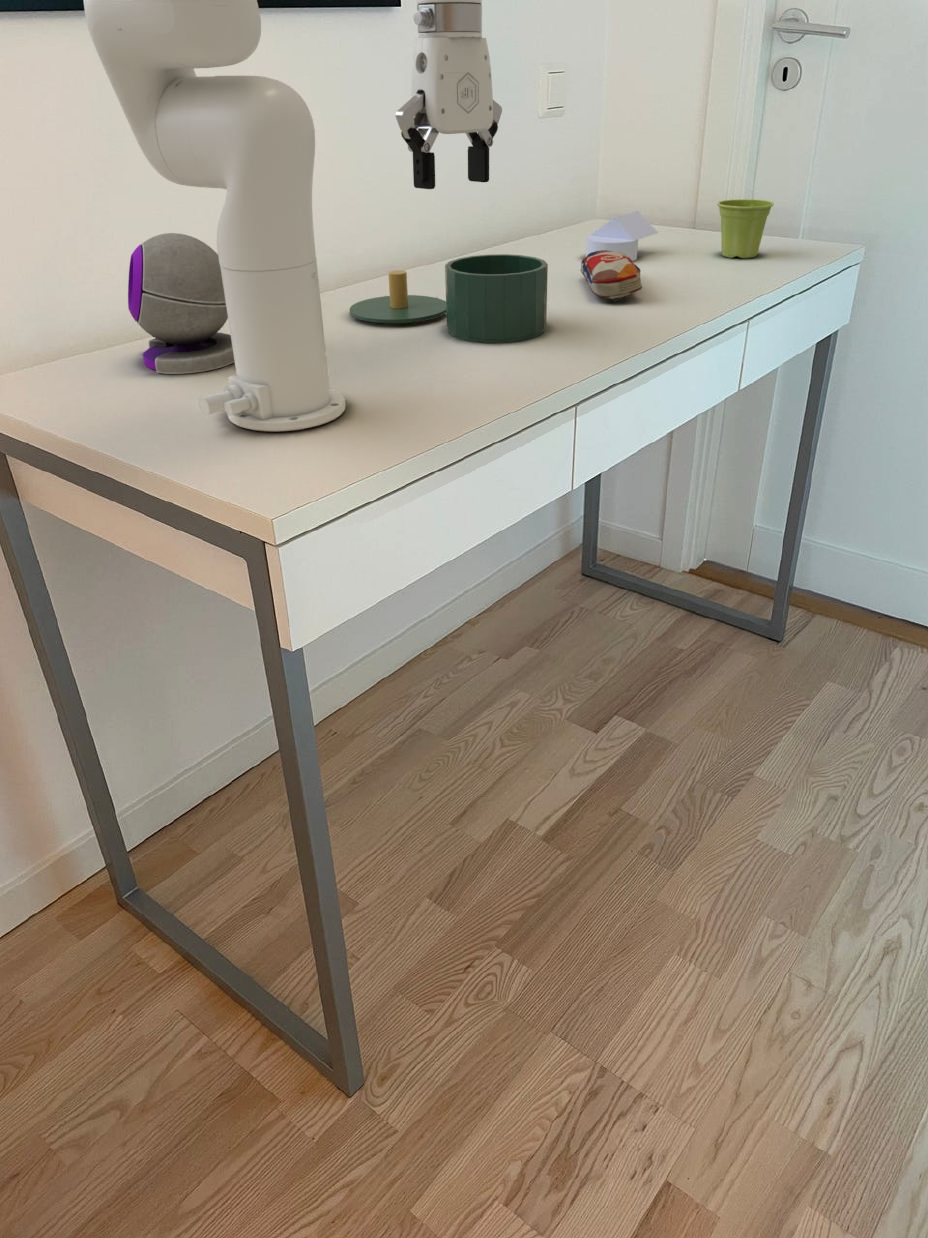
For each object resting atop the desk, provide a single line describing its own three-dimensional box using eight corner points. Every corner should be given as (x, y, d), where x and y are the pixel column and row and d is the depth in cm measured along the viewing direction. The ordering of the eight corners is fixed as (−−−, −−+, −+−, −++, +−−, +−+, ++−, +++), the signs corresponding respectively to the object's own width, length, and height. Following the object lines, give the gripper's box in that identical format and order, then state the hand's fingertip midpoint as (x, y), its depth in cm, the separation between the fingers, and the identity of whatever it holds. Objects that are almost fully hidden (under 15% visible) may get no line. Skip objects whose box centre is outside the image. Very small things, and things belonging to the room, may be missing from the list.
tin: (501, 348, 121) (501, 280, 117) (426, 331, 129) (424, 266, 125) (566, 327, 129) (568, 262, 125) (491, 311, 137) (491, 250, 133)
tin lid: (398, 332, 129) (395, 288, 126) (329, 316, 137) (325, 274, 134) (469, 311, 138) (468, 269, 135) (401, 297, 146) (398, 257, 143)
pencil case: (564, 303, 141) (566, 268, 138) (582, 274, 157) (583, 242, 154) (639, 305, 139) (642, 270, 136) (649, 276, 155) (652, 244, 152)
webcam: (136, 351, 124) (111, 229, 116) (234, 339, 128) (216, 220, 120) (144, 379, 114) (117, 247, 106) (250, 365, 117) (232, 237, 110)
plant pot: (700, 253, 170) (706, 201, 165) (743, 248, 173) (749, 196, 168) (734, 262, 162) (741, 208, 158) (777, 257, 166) (785, 203, 161)
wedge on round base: (613, 247, 176) (576, 259, 168) (615, 208, 173) (577, 218, 164) (656, 252, 171) (620, 265, 163) (660, 212, 168) (623, 223, 159)
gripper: (418, 21, 102) (423, 193, 111) (522, 23, 113) (519, 180, 122) (372, 23, 107) (380, 188, 116) (476, 25, 118) (477, 177, 126)
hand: (452, 184), depth 119 cm, fingers open, 9 cm apart
